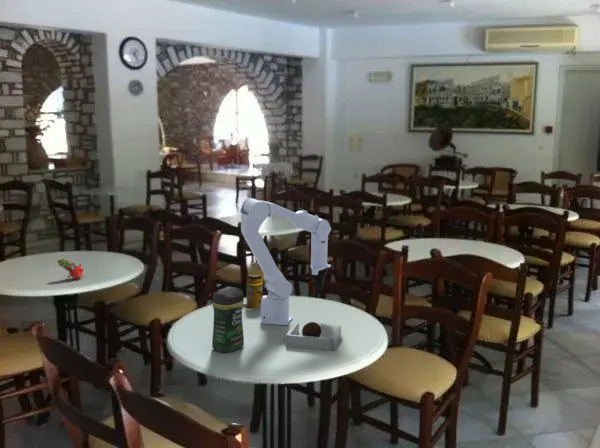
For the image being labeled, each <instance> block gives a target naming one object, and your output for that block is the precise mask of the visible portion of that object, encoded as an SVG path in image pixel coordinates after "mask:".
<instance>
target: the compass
mask: <svg viewBox="0 0 600 448" xmlns="http://www.w3.org/2000/svg"><path fill="white" fill-rule="evenodd" d="M321 334H322V327H321V326H320V324H319V323H317V322H314V321H310V322H307V323H305V325H304V326H303V327H302V329H301V336H312V337H321Z"/></svg>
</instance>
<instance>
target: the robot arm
mask: <svg viewBox="0 0 600 448" xmlns="http://www.w3.org/2000/svg"><path fill="white" fill-rule="evenodd" d="M239 213H240V231H241V234H242V236H243V237H244V239H245V241H246V244H247V245H248V247H249V248H250V251H251V253H252V255H253V256H254V258H255V260H256V262H257V264H258V266H259V267H260V269H261V271H262V273H263V276H262V278H263V279H264V283H265V284H264V285H265V289H266V290H267V291H268V294H267V295H264V294H263V297H262V300H261V308H260V324H265V325H266V324H267V325H277V326H287V325H289V323H290V322H291V320H292V319H293V317H292V316H290V295H291V294H292V292H293V285H292V283H291V282H290V281H288V280H287V279H286V277H285V276H284V274H283V273H282V272H281V271H280V269H279V268H278V266H277V265H276V262H275V261H274V258H273V257H272V254H271V253H270V250H269V249H268V247H267V245H266V244H265V241H264V240H263V237H262V235H261V234H260V232H259V230H260V228H261V226H262V225H263V223H264V222H265V221H266V220H267V218H268V217H269V218H271V217H273V216H277V217H279V218H283V219H286V220H289V221H291V222H292V225H293V227H296V228H299V229H300V230H304V231H306V232H309V233H311V235H310V236H311V238H310V243H311V244H310V245H311V246H310V248H311V249H310V250H311V251H310V252H311V253H310V268H311V269H310V271H309V274H310V275H311V278H312V280H313V285H314V288H315V291H322V290H323V288H324V284H325V283H324V282H325V278H326V276H327V273H328V270H329V269H330V268H331V266H332V265H331V264H329V263H328V246H329V245H328V244H329V243H328V240H329V234H330V233H331V231H332V227H331V225H330V223H329V221H327V220H326V219H323V218H321V217H319V215H317V214H315V215H313V214H310V213H308V211H307V210H306V209H305V210H304V209H302V210H297V211H296V212H295V211H292V210H291V209H288V208H285V207H283V206H281V205H279V204H276V203H273V202H270V201H267V200H266V201H265V200H261V199H255V198H254V197H249V198H247V199H245V200H244V201H243V203H242V204H241V207H240V209H239Z"/></svg>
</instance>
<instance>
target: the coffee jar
mask: <svg viewBox="0 0 600 448" xmlns="http://www.w3.org/2000/svg"><path fill="white" fill-rule="evenodd" d="M211 298H212V300H211V301H212V302H211V304H212V308H213V327H212V328H213V329H212V338H211V339H212V343H211V345H212V347H211V348H212V349H213V350H214V351H216V352H218V353H231V352H234V351H237V350H239V349H241V348H242V347H244V344H245V343H244V341H245V337H244V327H243V325H244V324H243V308H242V307H243V304H245V303H244V302H245V301H244V299H245V298H244V292H243V290H242V288H238V287H233V286H232V287H229V288H227V289H226V288H225V289H224V290H220V291H219V290H218V291H215V292H214V293H213V294H212V297H211Z"/></svg>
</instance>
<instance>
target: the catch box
mask: <svg viewBox="0 0 600 448" xmlns="http://www.w3.org/2000/svg"><path fill="white" fill-rule="evenodd" d="M299 332H300V322H299V321H296V322H294V323H293V325H292V326H291V328H290V329H289V330H288V332H286V334H285V347H293V348H294V347H295V348H303V349H312V350H313V349H314V350H323V351H334V350H335V348H336V346H337V344H338V342H339V341H340V339H341V336H342V326H341V325H337V326H336V328H335V330H334V332H333V334H332V335H331V337H322V336H320V337H312V336H301V335H302V334H301V335H300V334H299Z"/></svg>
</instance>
